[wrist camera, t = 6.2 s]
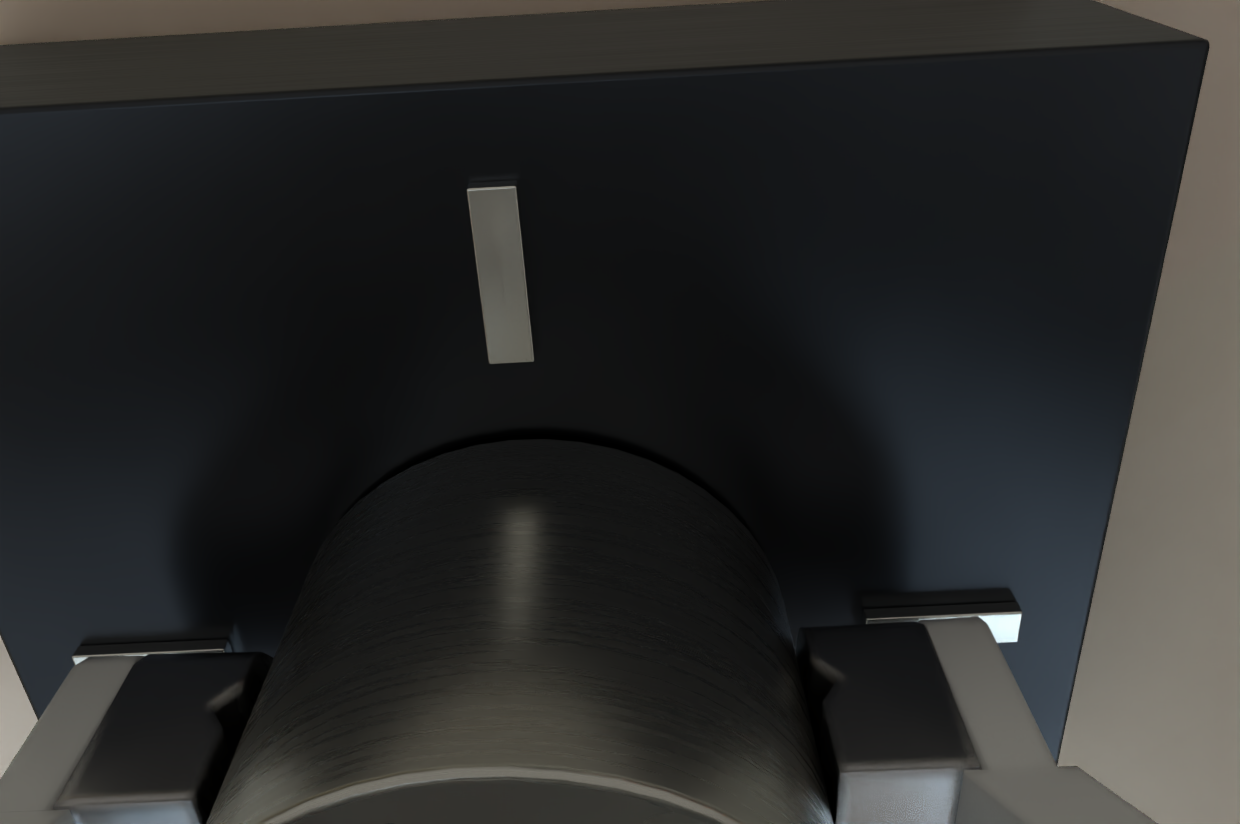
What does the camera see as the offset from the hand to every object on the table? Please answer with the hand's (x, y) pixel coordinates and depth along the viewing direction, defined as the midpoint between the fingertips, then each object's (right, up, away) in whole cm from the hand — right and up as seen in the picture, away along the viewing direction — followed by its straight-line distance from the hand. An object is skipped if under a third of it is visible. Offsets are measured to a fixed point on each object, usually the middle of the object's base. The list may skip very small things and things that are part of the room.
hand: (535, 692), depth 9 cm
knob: (0, 0, +1) cm, 1 cm away
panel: (0, +2, +3) cm, 4 cm away
